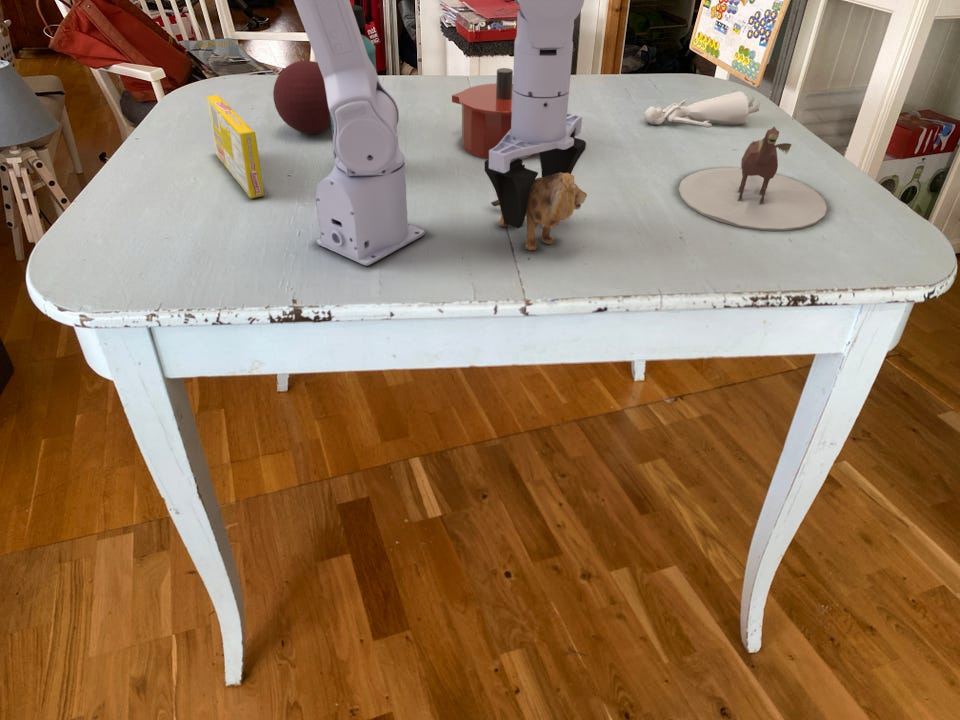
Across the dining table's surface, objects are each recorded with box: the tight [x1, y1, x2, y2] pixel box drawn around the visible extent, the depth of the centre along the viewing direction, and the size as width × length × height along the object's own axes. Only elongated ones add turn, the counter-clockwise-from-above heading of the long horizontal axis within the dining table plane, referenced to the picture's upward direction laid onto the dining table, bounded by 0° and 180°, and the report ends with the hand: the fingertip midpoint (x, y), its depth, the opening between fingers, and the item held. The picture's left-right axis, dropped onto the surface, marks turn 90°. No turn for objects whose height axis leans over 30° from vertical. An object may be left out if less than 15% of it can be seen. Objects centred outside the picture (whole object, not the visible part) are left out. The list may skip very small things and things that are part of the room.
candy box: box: [206, 94, 265, 200], centre depth 90 cm, size 16×2×8 cm, turn 31°
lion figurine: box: [490, 172, 588, 251], centre depth 79 cm, size 15×5×9 cm, turn 34°
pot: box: [451, 91, 538, 160], centre depth 101 cm, size 12×17×6 cm
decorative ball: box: [272, 60, 332, 135], centre depth 103 cm, size 10×10×10 cm
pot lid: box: [459, 67, 513, 116], centre depth 98 cm, size 13×13×5 cm
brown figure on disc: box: [678, 126, 828, 232], centre depth 87 cm, size 18×18×11 cm
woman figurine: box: [644, 90, 762, 128], centre depth 111 cm, size 12×4×18 cm
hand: (533, 212), depth 80 cm, fingers open, 7 cm apart
